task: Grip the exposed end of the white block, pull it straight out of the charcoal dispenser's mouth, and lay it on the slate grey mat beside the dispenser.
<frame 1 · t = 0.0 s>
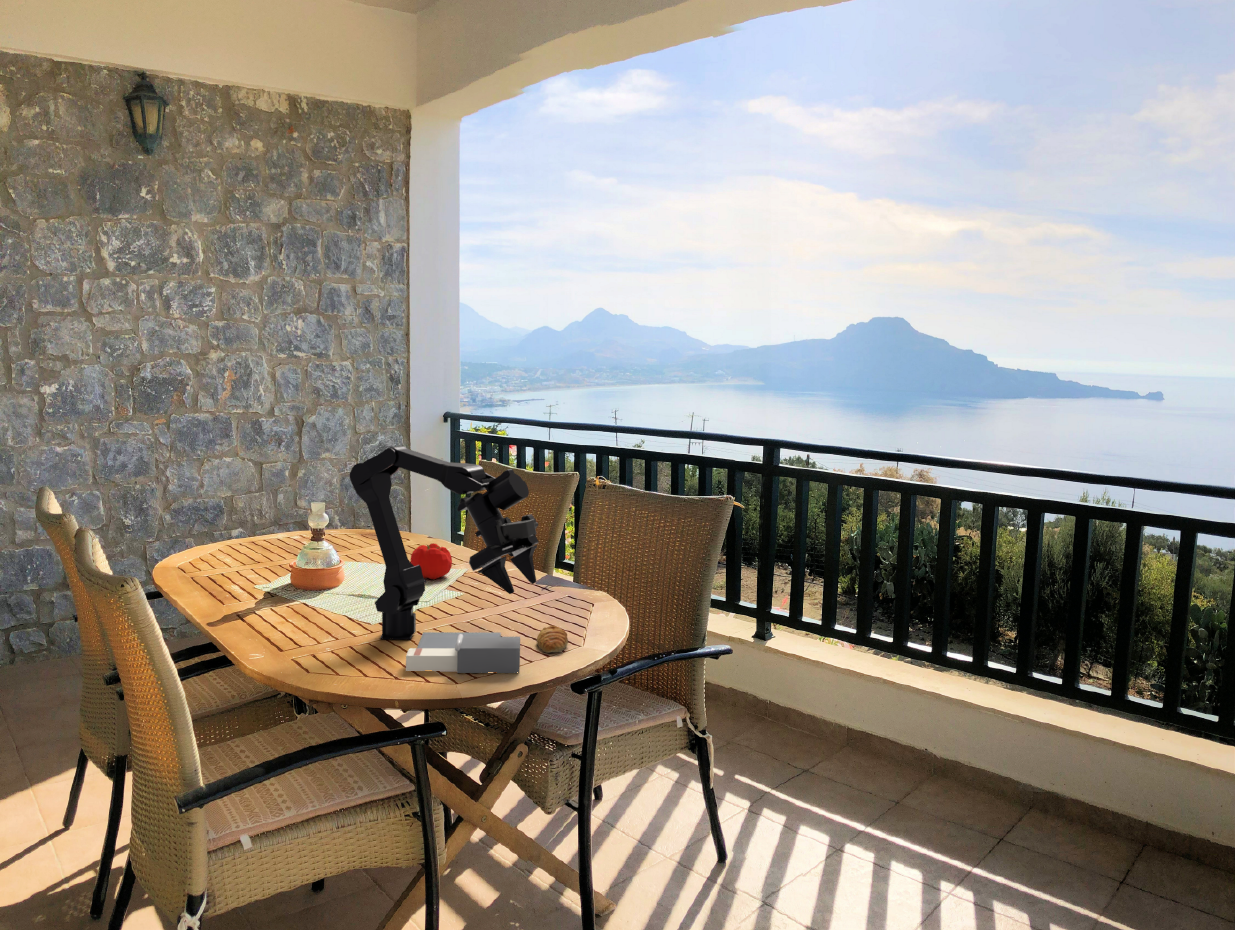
hand: (523, 587, 175), 15 cm above the table, tool tilted 35°, fingers open, 9 cm apart
dispenser: (489, 667, 171), on the table
tomato: (430, 577, 241), on the table
white block: (443, 669, 170), on the table
pastry: (553, 647, 185), on the table
mat: (459, 644, 184), on the table
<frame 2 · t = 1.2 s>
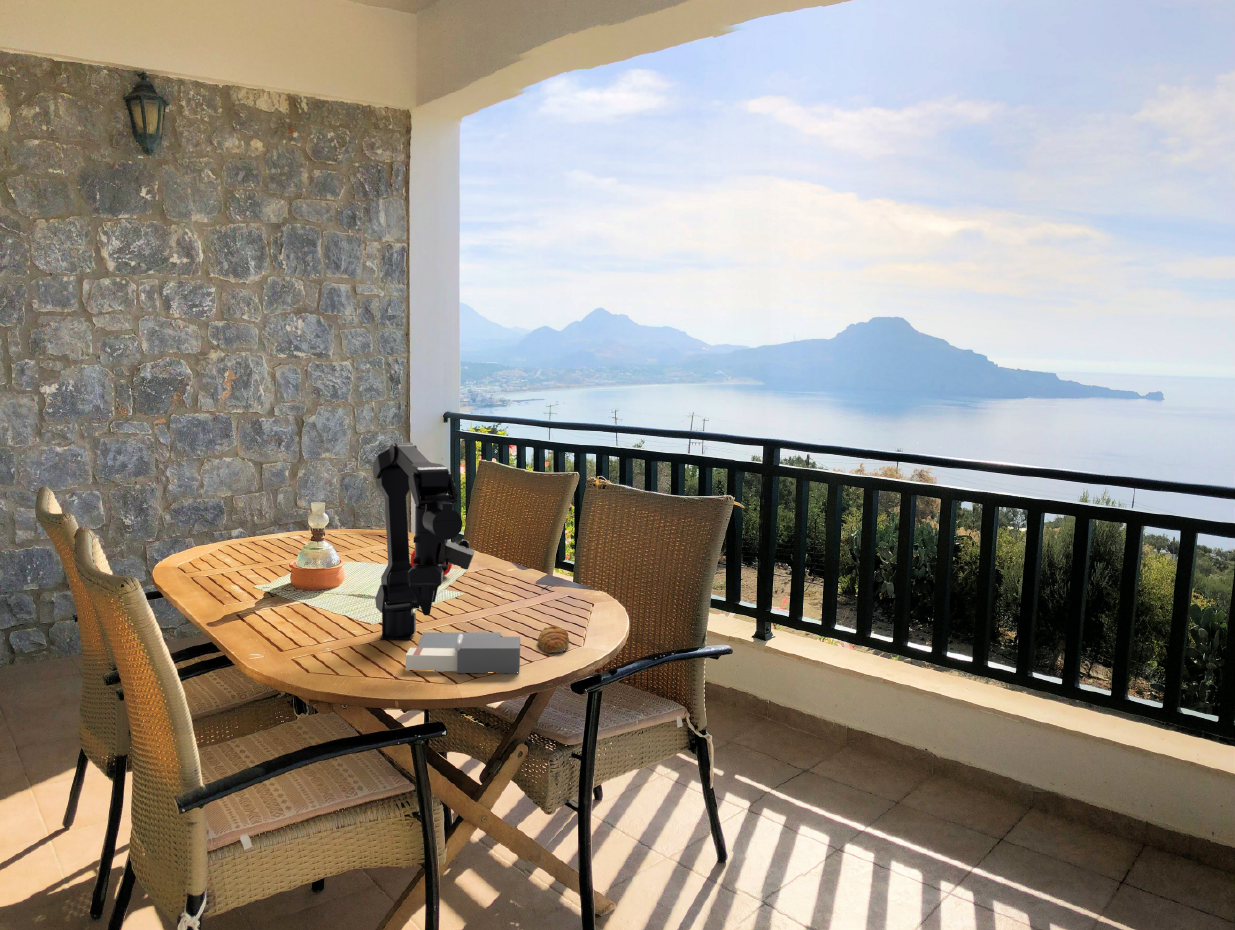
hand: (429, 608, 169), 12 cm above the table, tool pointing down, fingers open, 9 cm apart
nothing on the table moved.
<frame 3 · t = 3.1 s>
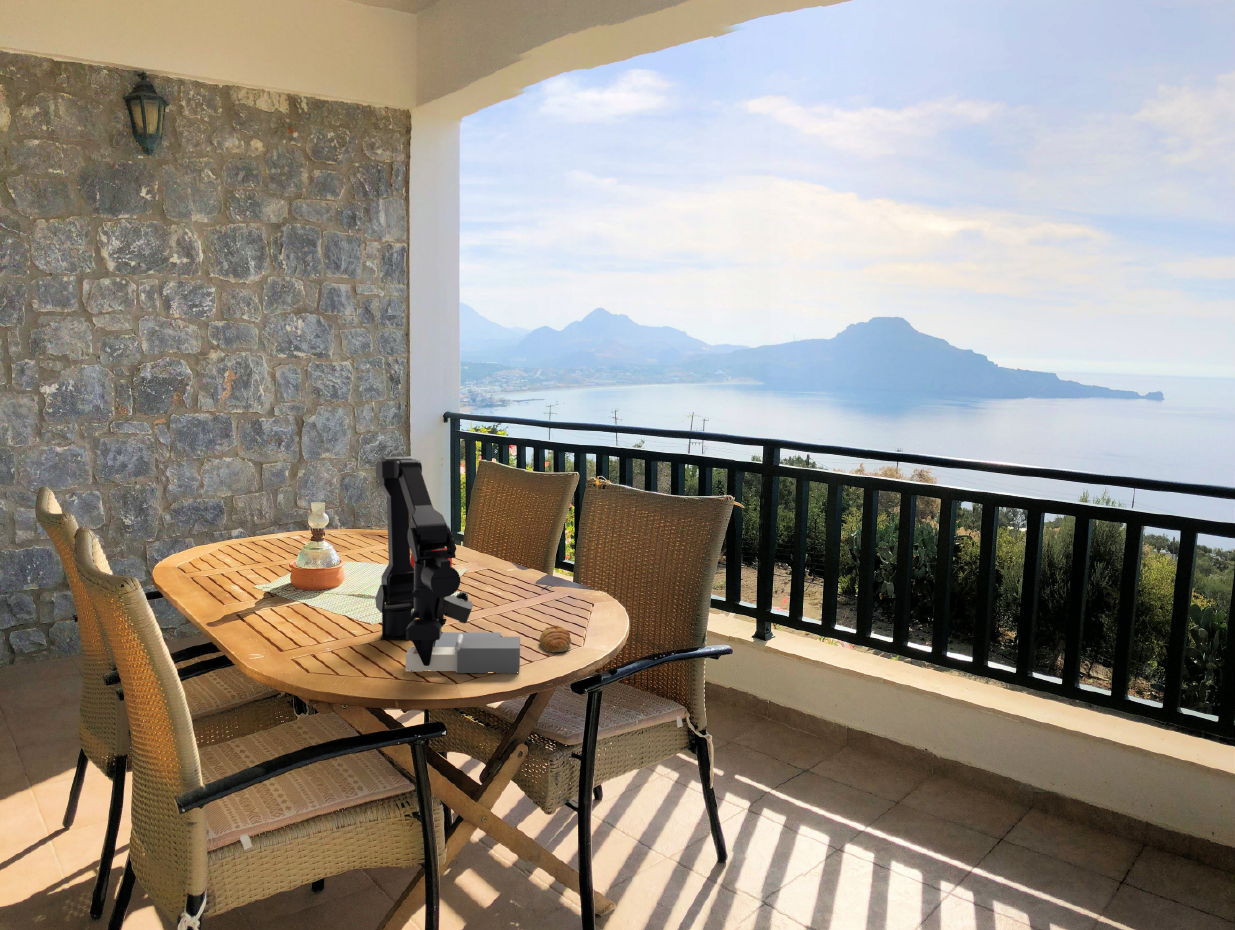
hand: (428, 661, 170), 1 cm above the table, tool pointing down, fingers closed on white block, 5 cm apart
white block: (443, 667, 170), on the table, touching gripper
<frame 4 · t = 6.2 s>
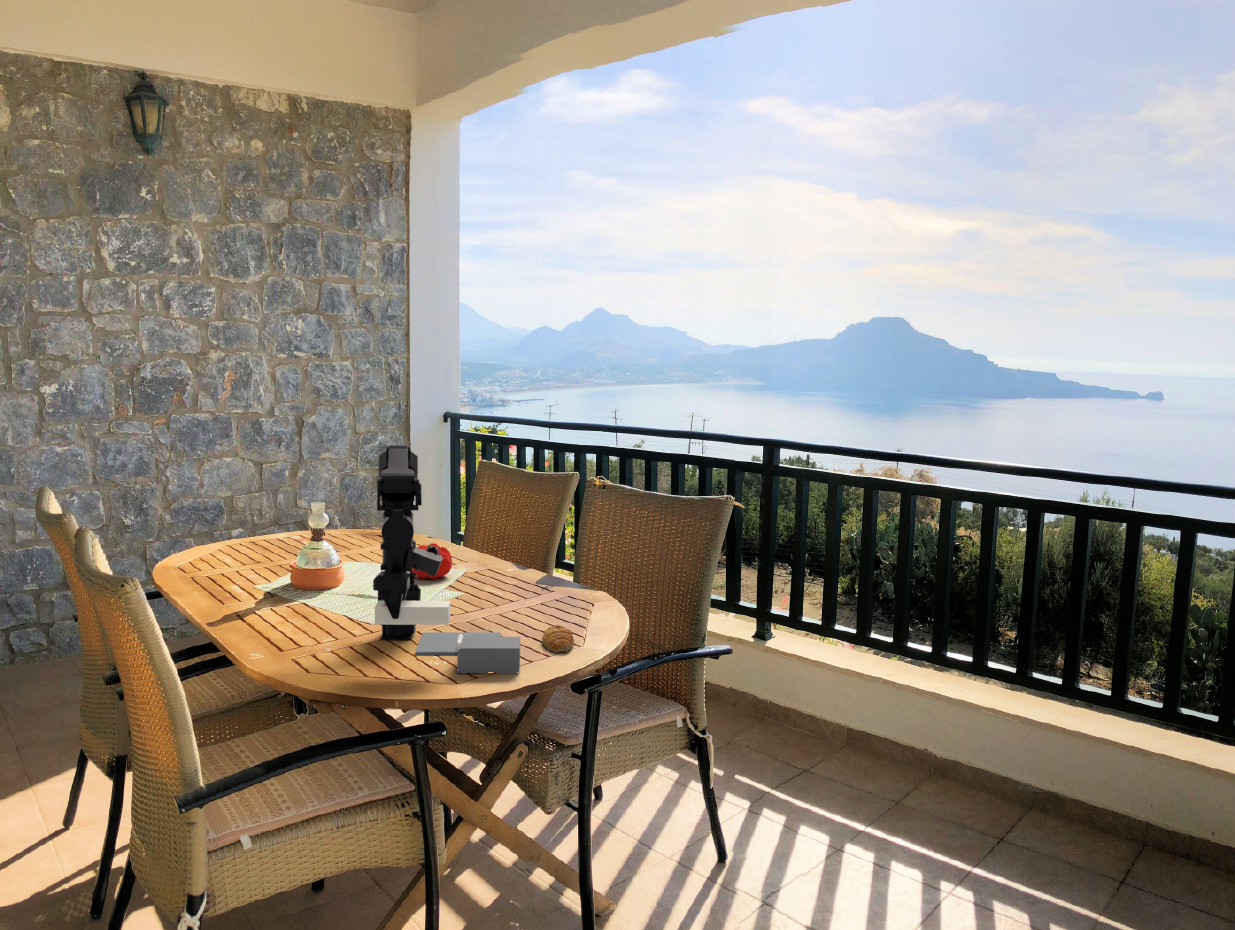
hand: (397, 615, 168), 11 cm above the table, tool pointing down, fingers closed on white block, 4 cm apart
white block: (413, 621, 168), point 9 cm above the table, touching gripper
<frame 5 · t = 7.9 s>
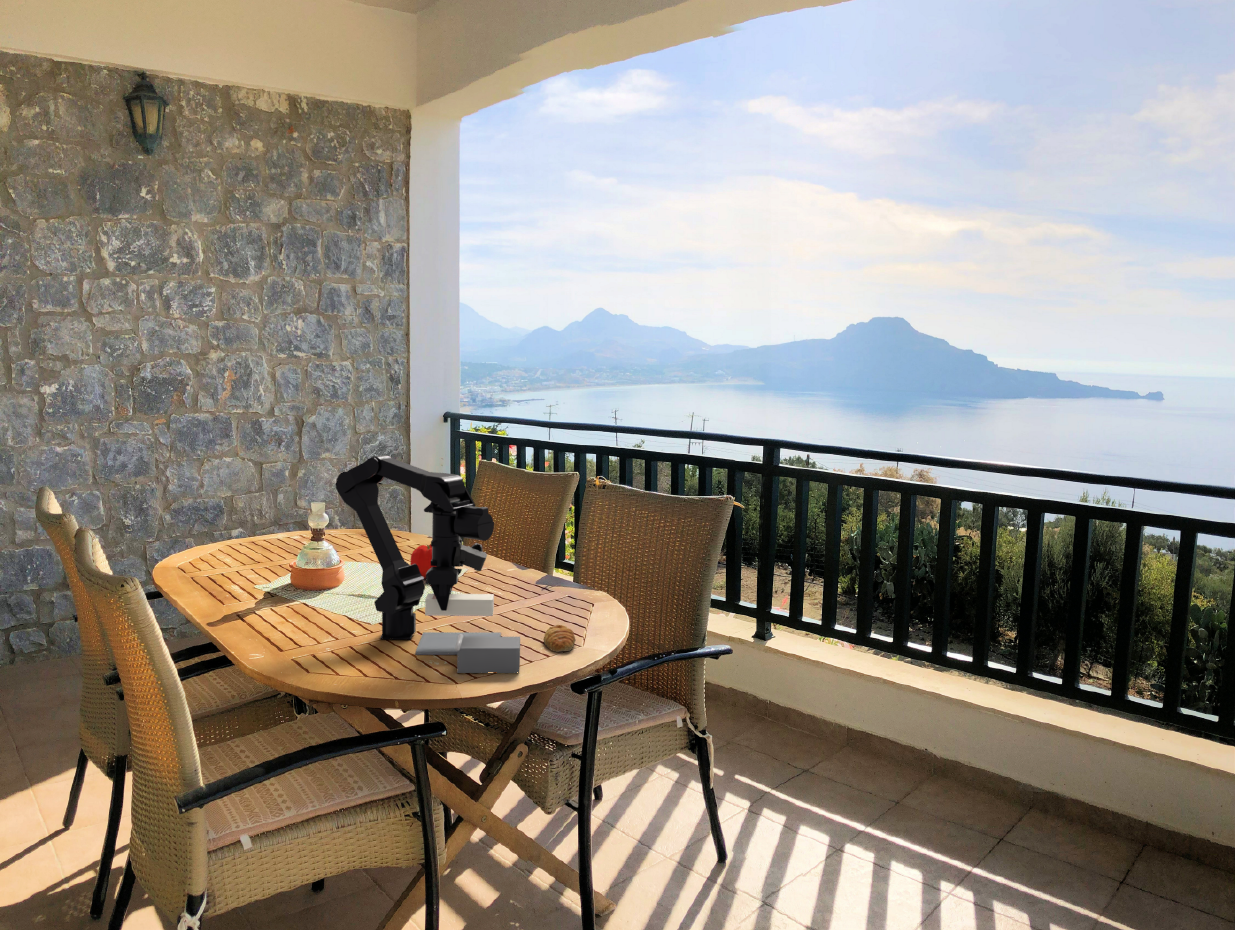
hand: (445, 607, 182), 9 cm above the table, tool pointing down, fingers closed on white block, 4 cm apart
white block: (459, 612, 182), point 7 cm above the table, touching gripper
when the fingers open (3 cm above the table, at t = 9.1 s): white block drops 1 cm, resting on mat.
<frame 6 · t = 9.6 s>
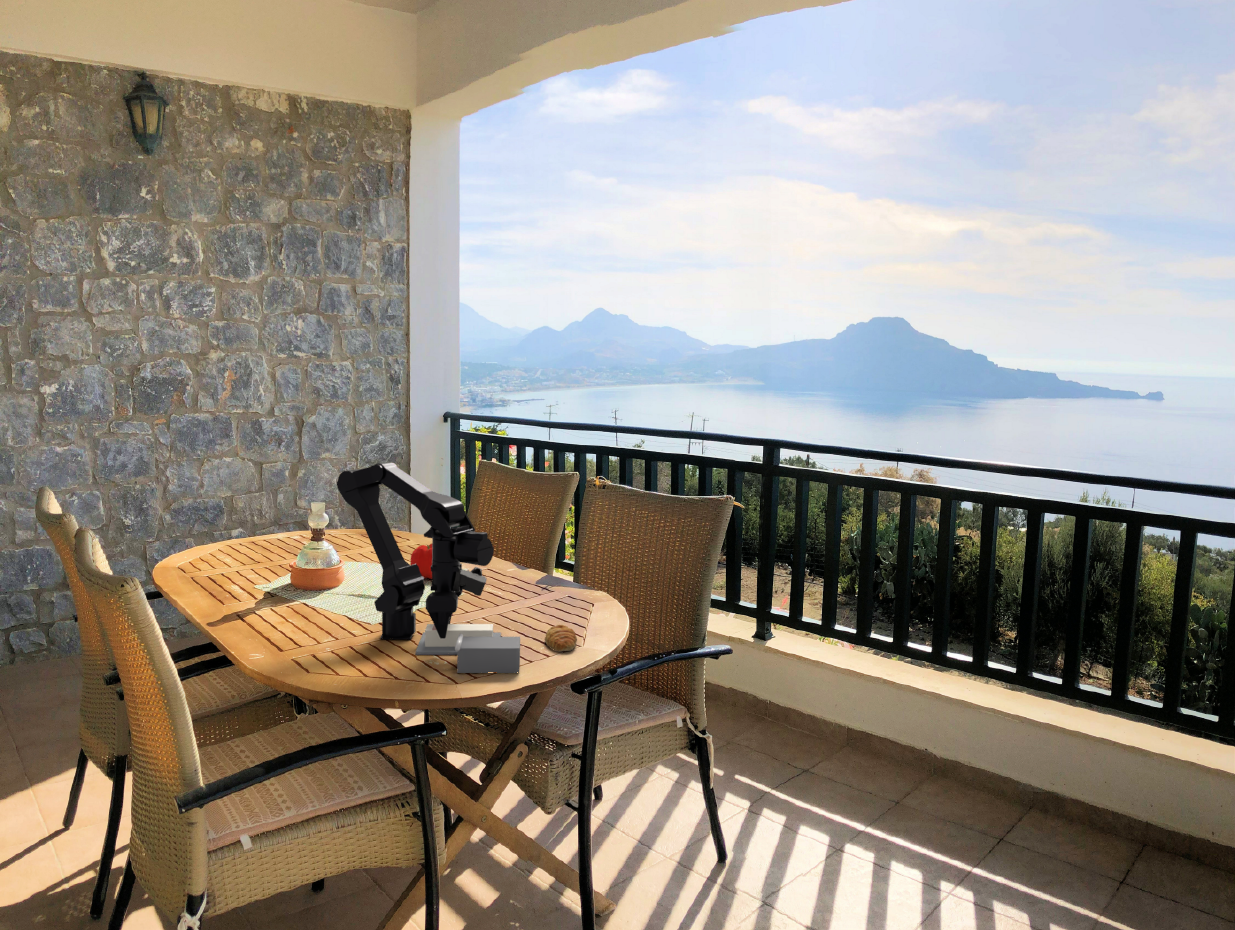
hand: (445, 631, 183), 3 cm above the table, tool pointing down, fingers open, 9 cm apart
white block: (459, 643, 183), point 1 cm above the table, touching mat
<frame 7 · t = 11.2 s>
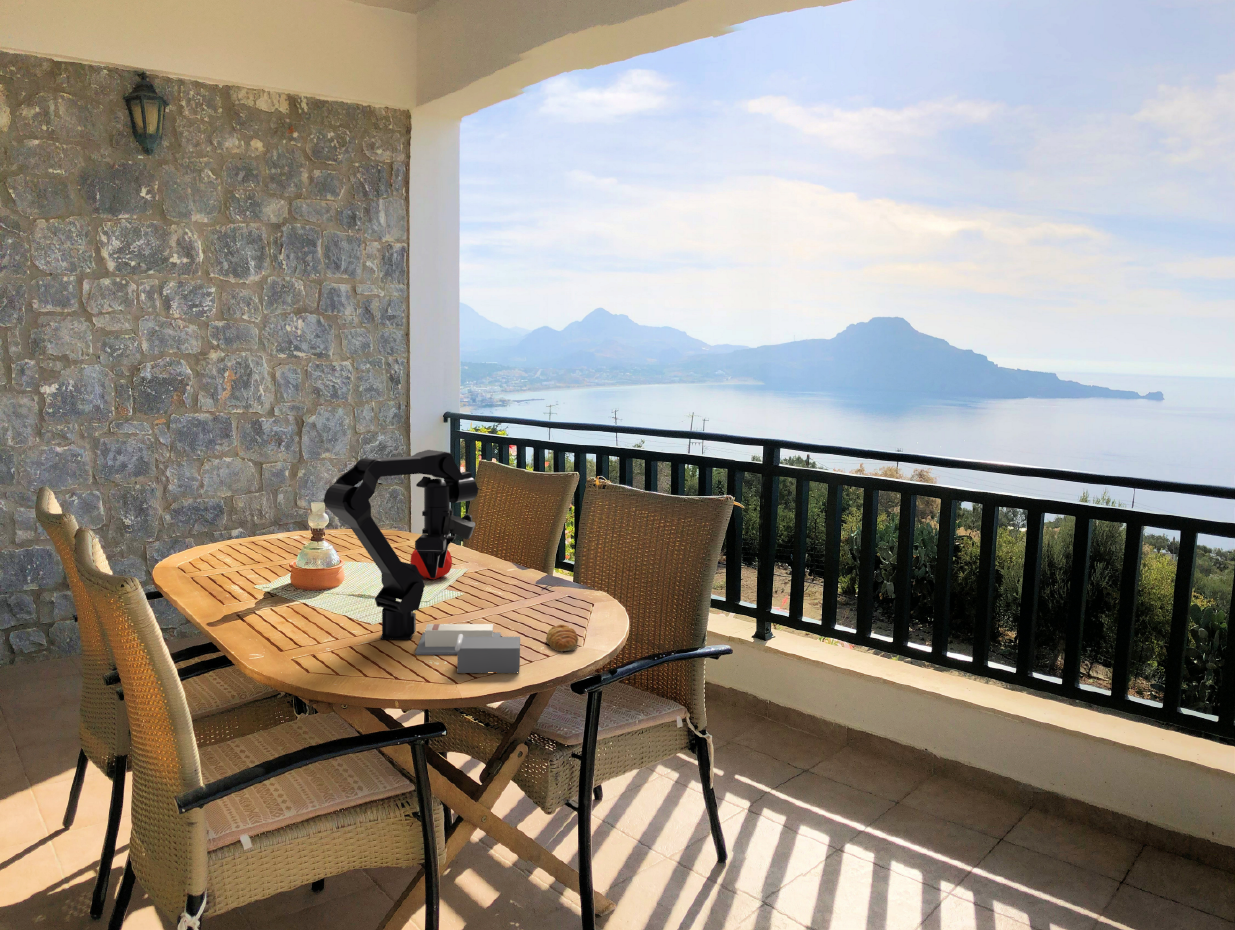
hand: (437, 572, 196), 12 cm above the table, tool pointing down, fingers open, 9 cm apart
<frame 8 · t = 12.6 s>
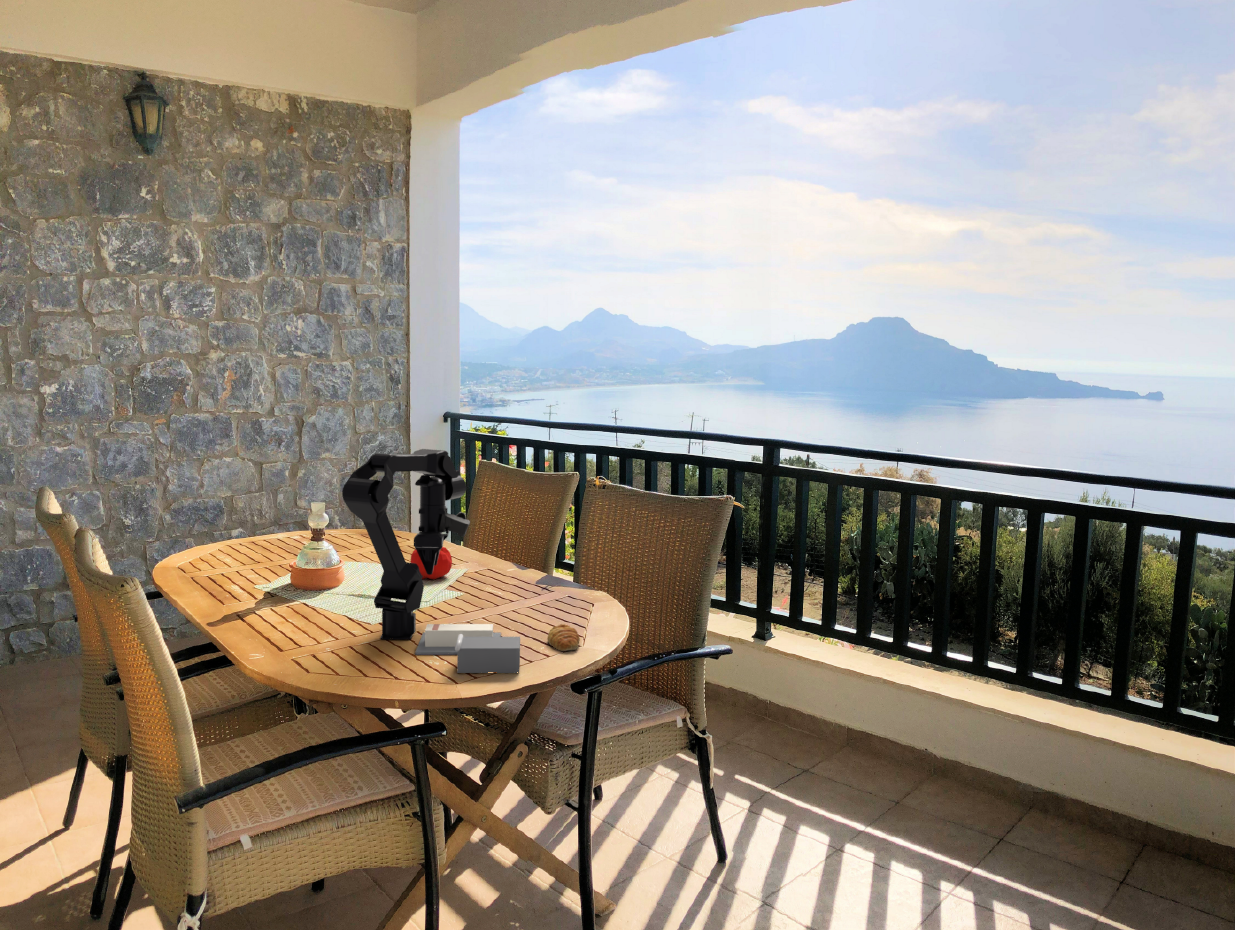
hand: (432, 569, 200), 12 cm above the table, tool pointing down, fingers open, 9 cm apart
at the end: white block inside the target area on the mat (0.9 cm from its centre), point 0.6 cm above the mat's base; the gripper is holding nothing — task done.
